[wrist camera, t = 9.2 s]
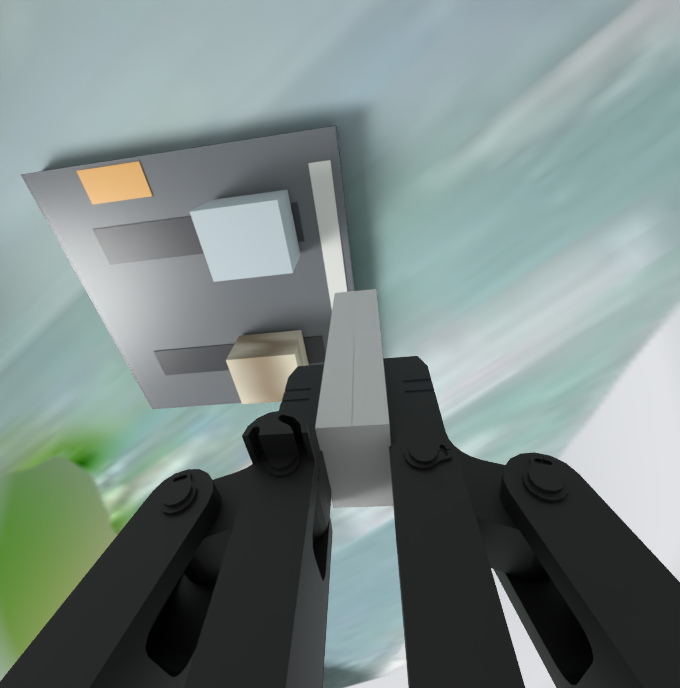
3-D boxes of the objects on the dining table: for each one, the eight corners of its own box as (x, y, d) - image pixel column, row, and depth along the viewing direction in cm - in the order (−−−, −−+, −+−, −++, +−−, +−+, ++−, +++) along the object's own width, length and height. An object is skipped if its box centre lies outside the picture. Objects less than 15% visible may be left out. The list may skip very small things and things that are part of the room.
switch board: (160, 397, 41) (151, 409, 39) (40, 171, 28) (19, 174, 26) (366, 381, 38) (366, 394, 37) (336, 125, 26) (334, 126, 24)
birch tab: (252, 377, 36) (242, 404, 32) (239, 335, 33) (225, 360, 30) (310, 372, 35) (305, 399, 32) (301, 329, 32) (294, 354, 29)
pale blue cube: (230, 263, 29) (213, 281, 26) (210, 199, 27) (189, 211, 23) (300, 255, 29) (293, 273, 25) (287, 189, 26) (277, 199, 23)
